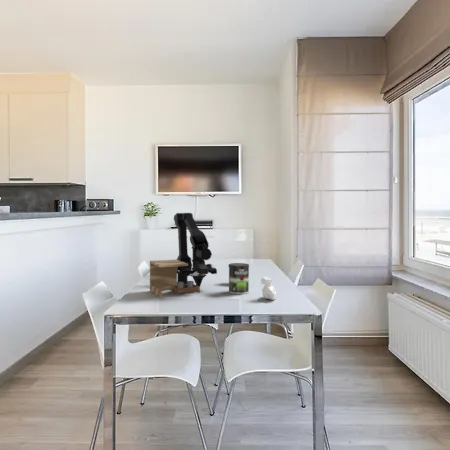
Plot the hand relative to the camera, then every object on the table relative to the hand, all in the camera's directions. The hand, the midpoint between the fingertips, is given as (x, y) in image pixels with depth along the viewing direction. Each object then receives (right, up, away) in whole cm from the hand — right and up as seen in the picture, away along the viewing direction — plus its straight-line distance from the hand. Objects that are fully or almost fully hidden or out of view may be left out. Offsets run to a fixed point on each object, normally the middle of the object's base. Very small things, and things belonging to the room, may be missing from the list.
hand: (198, 288), depth 201 cm
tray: (-6, -1, -3) cm, 7 cm away
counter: (-14, -1, -7) cm, 16 cm away
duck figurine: (+34, -2, -18) cm, 39 cm away
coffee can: (+21, -2, -3) cm, 21 cm away
